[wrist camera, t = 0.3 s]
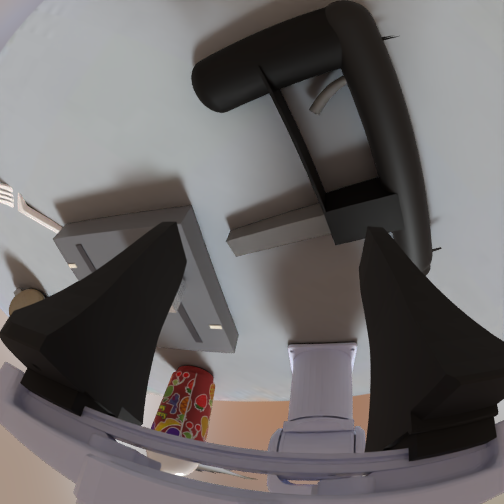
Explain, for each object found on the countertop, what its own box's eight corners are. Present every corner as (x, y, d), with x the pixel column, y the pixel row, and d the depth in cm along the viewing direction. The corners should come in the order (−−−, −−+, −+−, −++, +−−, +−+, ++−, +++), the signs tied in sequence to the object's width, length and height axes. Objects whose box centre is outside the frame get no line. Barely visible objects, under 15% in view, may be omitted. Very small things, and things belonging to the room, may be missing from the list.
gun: (265, 310, 26) (449, 273, 19) (129, 101, 15) (384, -13, 8) (271, 283, 28) (438, 246, 21) (154, 90, 18) (372, -4, 11)
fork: (120, 267, 30) (112, 279, 28) (-3, 194, 25) (-12, 202, 24) (125, 248, 28) (117, 261, 26) (-4, 173, 23) (-14, 181, 22)
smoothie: (167, 354, 39) (126, 481, 24) (223, 368, 39) (192, 501, 24) (172, 377, 45) (139, 484, 30) (220, 389, 45) (195, 500, 30)
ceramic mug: (50, 291, 35) (24, 330, 29) (69, 324, 41) (49, 360, 35) (11, 276, 36) (-13, 309, 30) (30, 308, 41) (10, 339, 36)
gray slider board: (238, 334, 33) (234, 353, 31) (131, 327, 36) (124, 343, 34) (191, 205, 22) (180, 224, 20) (66, 224, 26) (52, 239, 24)
